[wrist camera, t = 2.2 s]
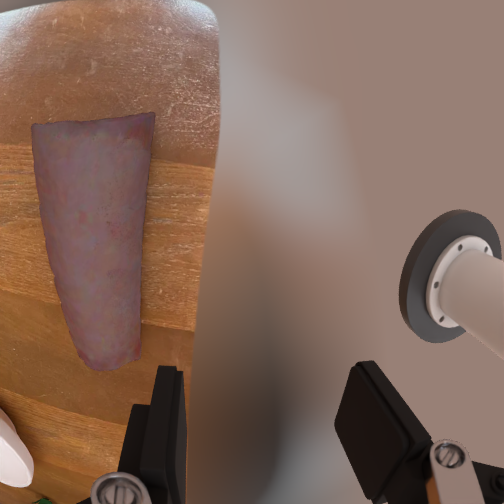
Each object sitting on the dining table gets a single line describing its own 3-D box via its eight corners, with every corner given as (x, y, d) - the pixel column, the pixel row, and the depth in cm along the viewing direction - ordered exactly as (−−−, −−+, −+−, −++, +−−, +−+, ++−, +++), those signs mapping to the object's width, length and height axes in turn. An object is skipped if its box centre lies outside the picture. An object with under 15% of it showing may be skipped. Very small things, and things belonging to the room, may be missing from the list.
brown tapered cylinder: (63, 126, 23) (9, 116, 15) (163, 113, 24) (140, 91, 16) (89, 341, 29) (59, 395, 20) (177, 343, 30) (168, 403, 21)
